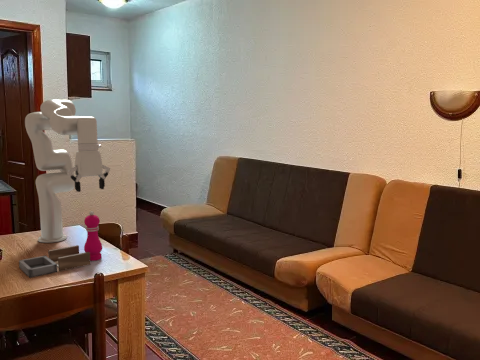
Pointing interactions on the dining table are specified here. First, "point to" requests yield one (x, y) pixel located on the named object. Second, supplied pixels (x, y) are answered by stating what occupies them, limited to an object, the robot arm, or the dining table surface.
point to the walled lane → (69, 257)
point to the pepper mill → (93, 237)
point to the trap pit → (37, 266)
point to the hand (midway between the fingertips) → (90, 190)
